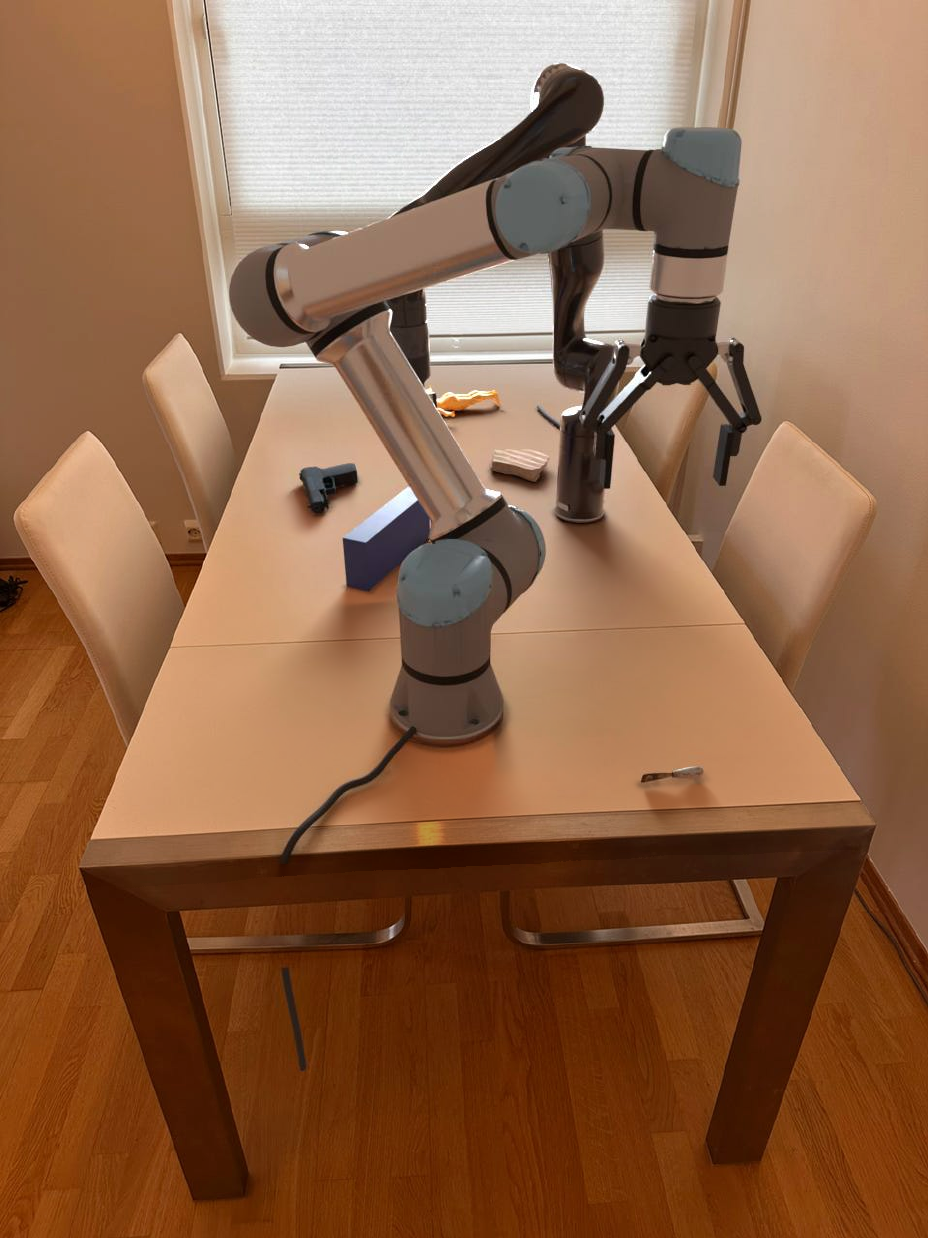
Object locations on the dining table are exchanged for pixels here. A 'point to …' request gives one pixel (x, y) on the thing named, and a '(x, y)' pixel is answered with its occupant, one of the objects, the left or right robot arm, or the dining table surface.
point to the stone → (519, 462)
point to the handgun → (325, 483)
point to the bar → (384, 540)
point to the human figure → (462, 400)
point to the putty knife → (674, 774)
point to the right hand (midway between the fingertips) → (412, 442)
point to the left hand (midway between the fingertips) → (662, 483)
